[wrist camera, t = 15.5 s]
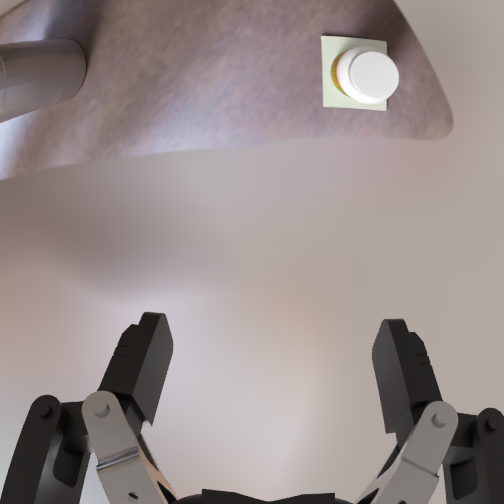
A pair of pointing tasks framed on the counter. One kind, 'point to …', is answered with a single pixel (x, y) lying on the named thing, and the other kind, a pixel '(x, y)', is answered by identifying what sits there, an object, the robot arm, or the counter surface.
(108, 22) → the counter surface
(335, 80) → the supplement bottle
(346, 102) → the plate
